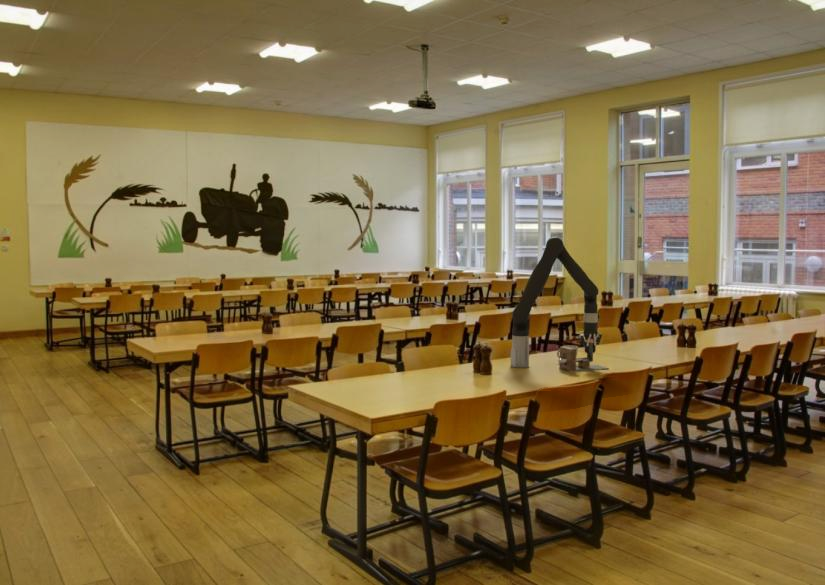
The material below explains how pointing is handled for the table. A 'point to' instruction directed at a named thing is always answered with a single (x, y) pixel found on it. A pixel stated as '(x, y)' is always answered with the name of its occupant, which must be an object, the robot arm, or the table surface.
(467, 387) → the table surface
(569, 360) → the grey upright block
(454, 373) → the table surface
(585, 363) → the saddle
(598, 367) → the mat
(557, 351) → the mug
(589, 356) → the hook rod
